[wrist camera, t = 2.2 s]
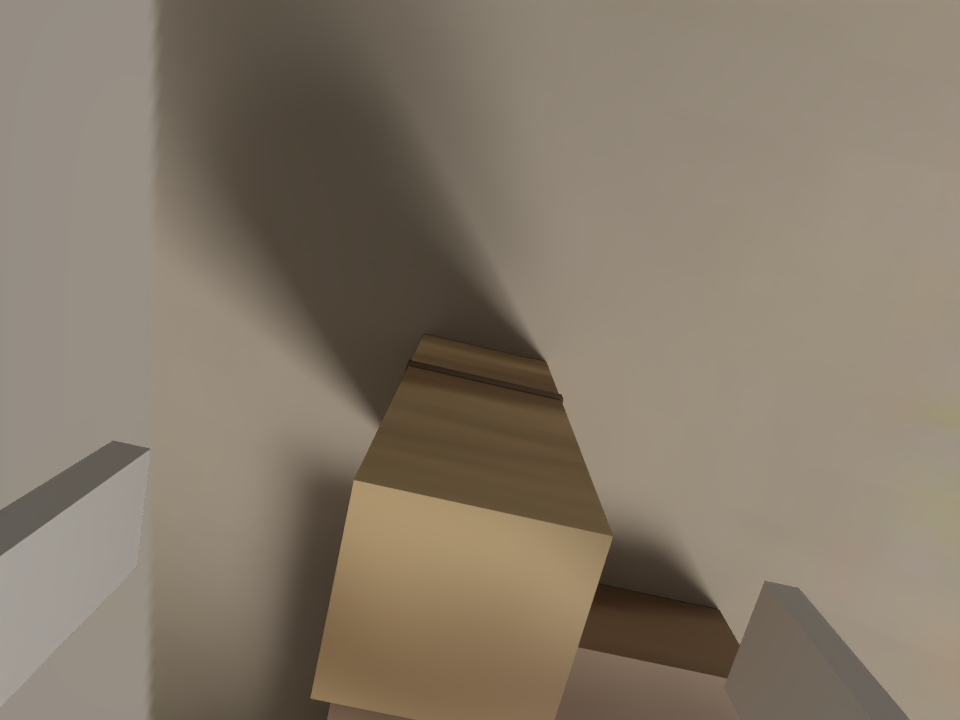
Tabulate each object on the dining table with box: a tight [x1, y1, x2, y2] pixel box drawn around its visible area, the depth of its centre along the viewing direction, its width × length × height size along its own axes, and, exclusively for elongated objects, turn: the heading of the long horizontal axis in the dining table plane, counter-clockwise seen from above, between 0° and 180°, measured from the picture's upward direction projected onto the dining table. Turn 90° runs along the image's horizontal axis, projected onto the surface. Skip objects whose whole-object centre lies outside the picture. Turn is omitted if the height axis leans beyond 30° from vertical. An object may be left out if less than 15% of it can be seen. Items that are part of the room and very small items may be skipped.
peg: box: [310, 334, 613, 720], centre depth 17 cm, size 5×5×12 cm
